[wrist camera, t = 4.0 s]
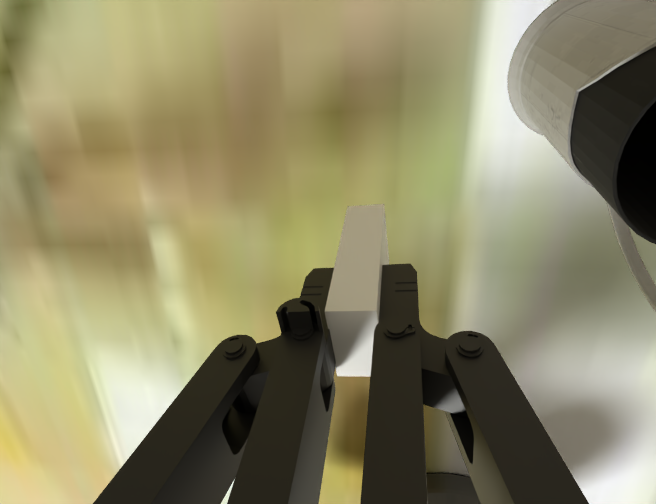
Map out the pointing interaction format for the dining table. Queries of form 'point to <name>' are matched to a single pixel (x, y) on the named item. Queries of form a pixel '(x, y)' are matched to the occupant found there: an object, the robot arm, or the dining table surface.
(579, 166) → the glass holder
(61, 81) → the dining table surface
